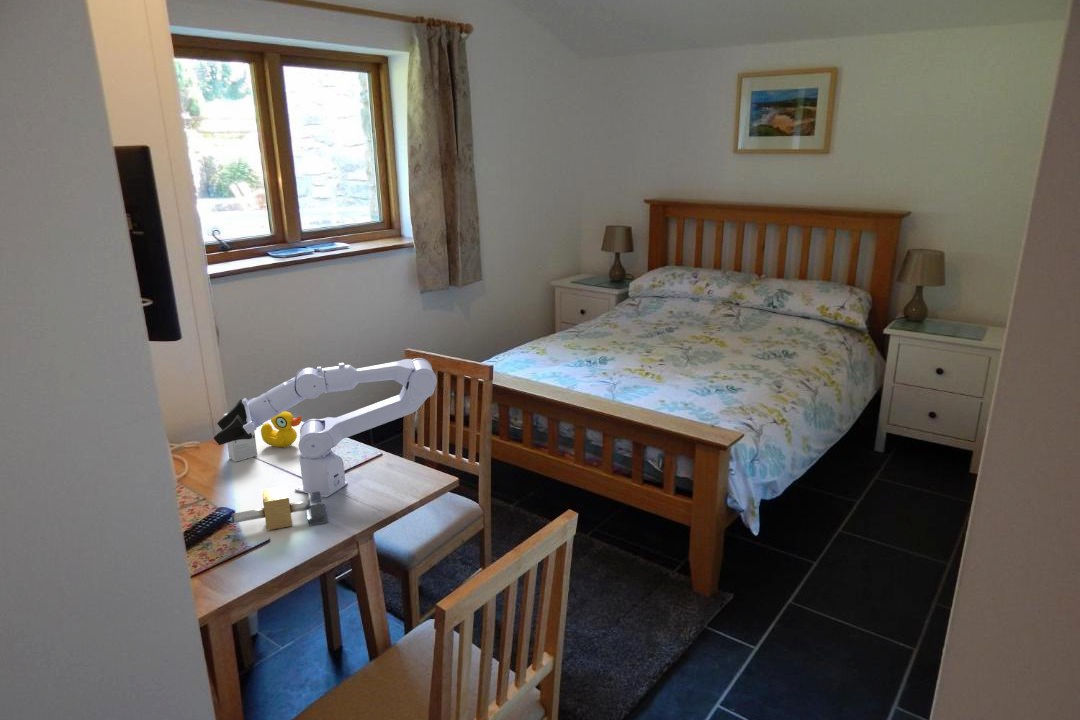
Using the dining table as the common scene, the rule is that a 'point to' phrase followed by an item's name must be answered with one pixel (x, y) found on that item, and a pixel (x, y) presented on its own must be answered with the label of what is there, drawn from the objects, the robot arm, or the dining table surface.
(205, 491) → the dining table surface
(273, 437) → the duckling
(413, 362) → the robot arm
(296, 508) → the shaft inner
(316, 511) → the pillow block
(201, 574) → the dining table surface
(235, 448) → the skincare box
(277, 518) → the block
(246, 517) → the shaft outer
